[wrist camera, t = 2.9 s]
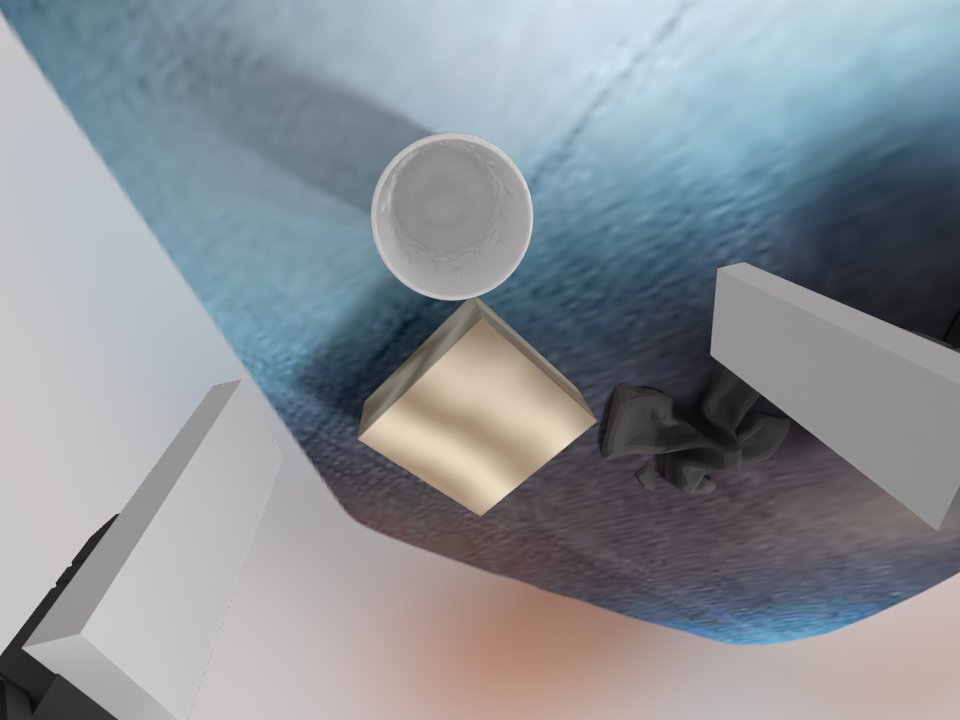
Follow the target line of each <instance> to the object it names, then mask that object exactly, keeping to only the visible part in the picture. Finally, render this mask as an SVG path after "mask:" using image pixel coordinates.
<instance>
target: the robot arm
mask: <svg viewBox="0 0 960 720" xmlns="http://www.w3.org/2000/svg"><path fill="white" fill-rule="evenodd" d="M710 355H711V356H712V357H714V358H715V359H716V360H718V361H719V362H720V363H722V364H723V365H724V366H725V367H727V368H728V369H729V370H731V371H732V372H733V373H734V374H736V375H737V376H738V377H740V378H741V379H742V380H743V381H745V382H746V383H747V384H749V385H750V386H751V387H752V388H754V389H755V390H756V391H758V392H759V393H760V394H762V395H763V396H764V397H765V398H767V399H768V400H769V401H771V402H772V403H773V404H774V405H776V406H777V407H778V408H780V409H781V410H782V411H783V412H785V413H786V414H787V415H789V416H790V417H791V418H792V419H794V420H795V421H796V422H798V423H799V424H800V425H802V426H803V427H804V428H805V429H807V430H808V431H809V432H811V433H812V434H813V435H814V436H816V437H817V438H818V439H820V440H821V441H822V442H823V443H825V444H826V445H827V446H829V447H830V448H831V449H832V450H834V451H835V452H836V453H838V454H839V455H840V456H842V457H843V458H844V459H845V460H847V461H848V462H849V463H851V464H852V465H853V466H854V467H856V468H857V469H858V470H860V471H861V472H862V473H863V474H865V475H866V476H867V477H869V478H870V479H871V480H872V481H874V482H875V483H876V484H878V485H879V486H880V487H882V488H883V489H884V490H885V491H887V492H888V493H889V494H891V495H892V496H893V497H894V498H896V499H897V500H898V501H900V502H901V503H902V504H903V505H905V506H906V507H907V508H909V509H910V510H911V511H912V512H914V513H915V514H916V515H918V516H919V517H920V518H922V519H923V520H924V521H925V522H927V523H928V524H929V525H931V526H932V527H933V528H934V529H936V530H937V531H939V530H942V529H946V528H950V527H954V526H958V525H960V314H959V316H958V317H957V319H956V320H955V322H954V323H953V325H952V327H951V329H950V331H949V333H948V335H947V338H946V340H945V342H943V341H940V340H938V339H935V338H933V337H931V336H928V335H926V334H923V333H919V332H915V331H910V330H906V329H902V328H899V327H896V326H894V325H892V324H889V323H887V322H885V321H882V320H880V319H877V318H875V317H873V316H870V315H868V314H866V313H863V312H861V311H859V310H856V309H854V308H851V307H849V306H847V305H844V304H842V303H840V302H837V301H835V300H832V299H830V298H828V297H825V296H823V295H821V294H818V293H816V292H814V291H811V290H809V289H806V288H804V287H802V286H799V285H797V284H795V283H792V282H790V281H787V280H785V279H783V278H780V277H778V276H776V275H773V274H771V273H769V272H766V271H764V270H761V269H759V268H757V267H754V266H752V265H750V264H747V263H745V262H743V263H739V264H734V265H730V266H726V267H721V268H718V269H717V281H716V292H715V304H714V316H713V328H712V340H711V351H710ZM283 458H284V456H283V454H282V452H281V451H280V449H279V447H278V445H277V443H276V441H275V439H274V438H273V436H272V434H271V432H270V430H269V428H268V426H267V425H266V423H265V421H264V419H263V417H262V415H261V414H260V412H259V410H258V408H257V406H256V404H255V402H254V401H253V399H252V397H251V395H250V393H249V391H248V389H247V388H246V386H245V384H244V382H243V380H242V379H241V380H236V381H232V382H228V383H224V384H219V385H215V386H213V387H212V388H211V390H210V391H209V392H208V394H207V395H206V396H205V398H204V399H203V400H202V402H201V403H200V405H199V406H198V407H197V409H196V410H195V412H194V413H193V414H192V416H191V417H190V418H189V420H188V421H187V423H186V424H185V425H184V427H183V428H182V429H181V431H180V432H179V433H178V435H177V436H176V438H175V439H174V440H173V442H172V443H171V445H170V446H169V447H168V448H167V450H166V451H165V453H164V454H163V455H162V457H161V458H160V459H159V461H158V462H157V464H156V465H155V466H154V468H153V469H152V471H151V472H150V473H149V474H148V476H147V477H146V479H145V480H144V481H143V483H142V484H141V486H140V487H139V488H138V490H137V491H136V492H135V494H134V495H133V496H132V498H131V499H130V501H129V502H128V503H127V505H126V506H125V507H124V509H123V510H122V512H121V513H119V514H116V515H115V516H114V517H112V518H111V519H110V520H109V521H108V522H107V523H106V524H105V525H104V526H102V528H100V529H99V530H98V531H97V532H96V533H95V534H94V535H92V536H91V537H90V538H89V540H88V541H87V542H86V544H85V545H84V546H83V548H82V549H81V550H80V552H79V553H78V554H77V556H76V557H75V558H74V559H73V561H72V566H70V567H67V569H66V570H65V572H64V573H63V574H62V575H61V577H60V578H59V579H58V581H57V582H56V587H55V588H52V589H51V590H50V591H49V593H48V594H47V595H46V596H45V598H44V599H43V600H42V602H41V603H40V604H39V606H38V607H37V608H36V609H35V611H34V612H33V614H32V615H31V616H30V617H29V619H28V620H27V621H26V623H25V624H24V625H23V627H22V628H21V629H20V631H19V632H18V633H17V635H16V636H15V637H14V638H13V640H12V641H11V642H10V644H9V645H8V646H7V648H6V649H5V650H4V652H3V653H2V654H1V656H0V720H188V718H189V715H190V713H191V710H192V707H193V705H194V701H195V699H196V696H197V693H198V691H199V688H200V685H201V683H202V680H203V677H204V674H205V672H206V669H207V666H208V664H209V661H210V658H211V655H212V652H213V650H214V647H215V644H216V641H217V639H218V636H219V633H220V631H221V628H222V625H223V622H224V620H225V617H226V614H227V612H228V609H229V606H230V603H231V601H232V598H233V595H234V592H235V589H236V586H237V584H238V581H239V579H240V576H241V573H242V571H243V568H244V565H245V562H246V559H247V557H248V554H249V551H250V549H251V546H252V543H253V540H254V538H255V535H256V532H257V530H258V527H259V524H260V521H261V518H262V516H263V513H264V510H265V508H266V505H267V502H268V499H269V497H270V494H271V491H272V489H273V486H274V483H275V480H276V478H277V475H278V472H279V469H280V466H281V464H282V461H283Z"/></svg>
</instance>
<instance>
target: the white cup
mask: <svg viewBox="0 0 960 720" xmlns="http://www.w3.org/2000/svg"><path fill="white" fill-rule="evenodd" d="M371 227H372V233H373V238H374V241H375V244H376V247H377V250H378V252H379V254H380V256H381V258H382V260H383V261H384V263H385V264H386V266H387V267H388V268H389V270H390V271H391V272H392V273H393V274H394V275H395V276H396V277H397V278H398V279H399V280H400V281H401V282H402V283H403V284H405V285H406V286H408V287H409V288H411V289H412V290H414V291H416V292H418V293H420V294H422V295H425V296H428V297H431V298H435V299H441V300H464V299H469V298H473V297H477V296H480V295H482V294H485V293H487V292H489V291H491V290H492V289H494V288H496V287H497V286H498V285H500V284H501V283H502V282H504V281H505V280H506V279H507V278H508V277H509V276H510V275H511V274H512V273H513V271H514V270H515V269H516V268H517V266H518V265H519V263H520V262H521V260H522V258H523V257H524V255H525V252H526V250H527V248H528V245H529V242H530V238H531V234H532V227H533V207H532V200H531V196H530V192H529V189H528V186H527V184H526V181H525V179H524V177H523V175H522V174H521V172H520V170H519V169H518V167H517V166H516V165H515V163H514V162H513V161H512V160H511V159H510V158H509V157H508V156H507V155H506V154H505V153H504V152H503V151H502V150H500V149H499V148H498V147H496V146H495V145H493V144H491V143H490V142H488V141H486V140H483V139H481V138H478V137H476V136H472V135H468V134H462V133H441V134H435V135H431V136H428V137H425V138H422V139H420V140H417V141H415V142H414V143H412V144H410V145H409V146H407V147H406V148H404V149H403V150H402V151H400V152H399V153H398V154H397V155H396V156H395V157H394V158H393V159H392V160H391V161H390V163H389V164H388V165H387V167H386V168H385V170H384V171H383V173H382V175H381V176H380V178H379V181H378V183H377V185H376V188H375V191H374V195H373V199H372V205H371Z"/></svg>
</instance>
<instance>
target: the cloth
mask: <svg viewBox="0 0 960 720" xmlns="http://www.w3.org/2000/svg"><path fill="white" fill-rule="evenodd" d="M760 395H761V394H760V393H759V392H758V391H756V390H755V389H754V388H752V387H751V386H750V385H749V384H747V383H746V382H745V381H743V380H742V379H741V378H740V377H738V376H737V375H736V374H734V373H733V372H732V371H731V370H729V369H728V368H727V367H725V366H724V365H723V364H722V363H720V362H719V361H718V360H716V359H715V368H714V372H713V375H712V377H711V379H710V381H709V383H708V385H707V386H706V388H705V390H704V391H703V393H702V394H701V396H700V397H699V399H698V401H697V403H696V405H695V406H694V409H693V410H692V412H691V413H690V414H688V415H683V414H681V413H679V412H677V411H676V410H675V409H674V407H673V400H672V399H671V398H670V397H669V396H668V395H665V394H663V393H661V392H659V391H657V390H654V389H648V388H639V387H636V386H632V385H630V384H627V383H623V384H620V385H617V386H616V388H615V390H614V393H613V399H612V405H611V410H610V413H609V418H608V422H607V427H606V433H605V436H604V439H603V443H602V447H601V451H602V457H603V459H605V460H612V459H614V458H616V457H619V456H622V455H629V454H661V453H666V459H665V477H666V480H667V482H669V483H670V484H671V485H674V486H675V487H676V488H678V489H679V490H681V491H682V492H684V493H686V494H689V495H690V494H695V493H697V494H707V495H708V494H709V493H710V492H712V491H713V490H714V489H715V487H716V484H715V482H714V481H713V480H712V479H711V477H707V476H704V475H705V473H706V471H707V470H724V471H728V472H737V471H741V465H748V464H756V463H759V462H762V461H764V460H767V459H768V458H769V457H770V456H771V455H772V454H773V453H774V451H775V450H776V449H777V448H778V447H779V445H780V444H781V443H782V441H783V439H784V438H785V436H786V435H787V433H788V432H789V430H790V422H791V421H790V420H789V417H787V418H780V417H772V416H767V415H763V414H759V413H749V414H746V413H747V411H748V410H749V408H750V407H751V406H752V405H753V404H754V402H755V401H756V400H757V399H758V398H759V396H760ZM635 474H636V475H637V477H638V479H639V480H640V482H641V484H642V486H643V488H645V489H649V490H652V491H655V485H656V480H657V478H656V475H655V468H654V467H653V466H651V465H650V464H649V465H645V466H643V467H641V468H640V469H639V470H637V471H636V472H635Z"/></svg>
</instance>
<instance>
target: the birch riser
mask: <svg viewBox="0 0 960 720" xmlns="http://www.w3.org/2000/svg"><path fill="white" fill-rule="evenodd" d="M596 422H597V420H596V418H595V417H594V415H593V414H592V412H591V410H590V409H589V407H588V405H587V404H586V402H585V401H584V399H583V397H582V396H581V394H580V392H579V391H578V389H577V388H576V387H575V386H574V385H573V384H572V383H571V382H570V381H569V380H568V379H567V378H565V377H564V376H563V375H562V374H561V373H560V372H559V371H558V370H557V369H556V368H555V367H554V366H552V365H551V364H550V363H549V362H548V361H547V360H546V359H545V358H544V357H543V356H542V355H540V354H539V353H538V352H537V351H536V350H535V349H534V348H533V347H532V346H531V345H530V344H529V343H527V342H526V341H525V340H524V339H523V338H522V337H521V336H520V335H519V334H518V333H517V332H516V331H514V330H513V329H512V328H511V327H510V326H509V325H508V324H507V323H506V322H505V321H504V320H503V319H501V318H500V317H499V316H498V315H497V314H496V313H495V312H494V311H493V310H492V309H491V308H490V307H488V306H487V305H486V304H485V303H484V302H483V301H482V300H481V299H480V298H479V297H478V296H477V297H473V298H469V299H467V300H466V301H465V302H464V303H463V304H462V305H461V306H460V307H459V308H458V309H457V310H456V311H455V312H454V313H453V314H452V315H451V316H450V317H449V318H448V319H447V320H446V321H445V322H444V323H443V324H442V325H441V326H440V327H439V328H438V329H437V330H436V331H435V332H434V333H433V334H432V335H431V336H430V337H429V338H428V339H427V340H426V341H425V342H424V343H423V344H422V345H421V346H420V347H419V348H418V349H417V350H416V351H415V352H414V353H413V354H412V355H411V356H410V357H409V358H408V359H407V360H406V361H405V362H404V363H403V364H402V365H401V366H400V367H399V368H398V369H397V370H396V371H395V372H394V373H393V374H392V375H391V376H390V377H389V378H388V379H387V380H386V381H385V382H384V383H383V384H382V385H381V386H380V387H379V388H378V389H377V390H376V391H375V392H374V393H373V394H372V395H371V396H370V397H369V398H368V399H367V400H366V401H365V402H364V407H363V412H362V418H361V423H360V429H359V435H358V440H360V441H362V442H363V443H365V444H366V445H368V446H370V447H371V448H373V449H374V450H376V451H377V452H379V453H381V454H382V455H384V456H385V457H387V458H389V459H390V460H392V461H393V462H395V463H397V464H398V465H400V466H401V467H403V468H404V469H406V470H408V471H409V472H411V473H412V474H414V475H416V476H417V477H419V478H420V479H422V480H424V481H425V482H427V483H428V484H430V485H432V486H433V487H435V488H436V489H438V490H439V491H441V492H443V493H444V494H446V495H447V496H449V497H451V498H452V499H454V500H455V501H457V502H459V503H460V504H462V505H463V506H465V507H466V508H468V509H470V510H471V511H473V512H474V513H476V514H478V515H479V516H481V515H483V514H484V513H485V512H486V511H488V510H489V509H490V508H491V507H492V506H494V505H495V504H496V503H497V502H499V501H500V500H501V499H502V498H504V497H505V496H506V495H507V494H508V493H510V492H511V491H512V490H513V489H515V488H516V487H517V486H518V485H519V484H521V483H522V482H523V481H524V480H526V479H527V478H528V477H529V476H531V475H532V474H533V473H534V472H535V471H537V470H538V469H539V468H540V467H542V466H543V465H544V464H545V463H546V462H548V461H549V460H550V459H551V458H553V457H554V456H555V455H556V454H558V453H559V452H560V451H561V450H562V449H564V448H565V447H566V446H567V445H569V444H570V443H571V442H572V441H573V440H575V439H576V438H577V437H578V436H580V435H581V434H582V433H583V432H584V431H586V430H587V429H588V428H589V427H591V426H592V425H593V424H594V423H596Z"/></svg>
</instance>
